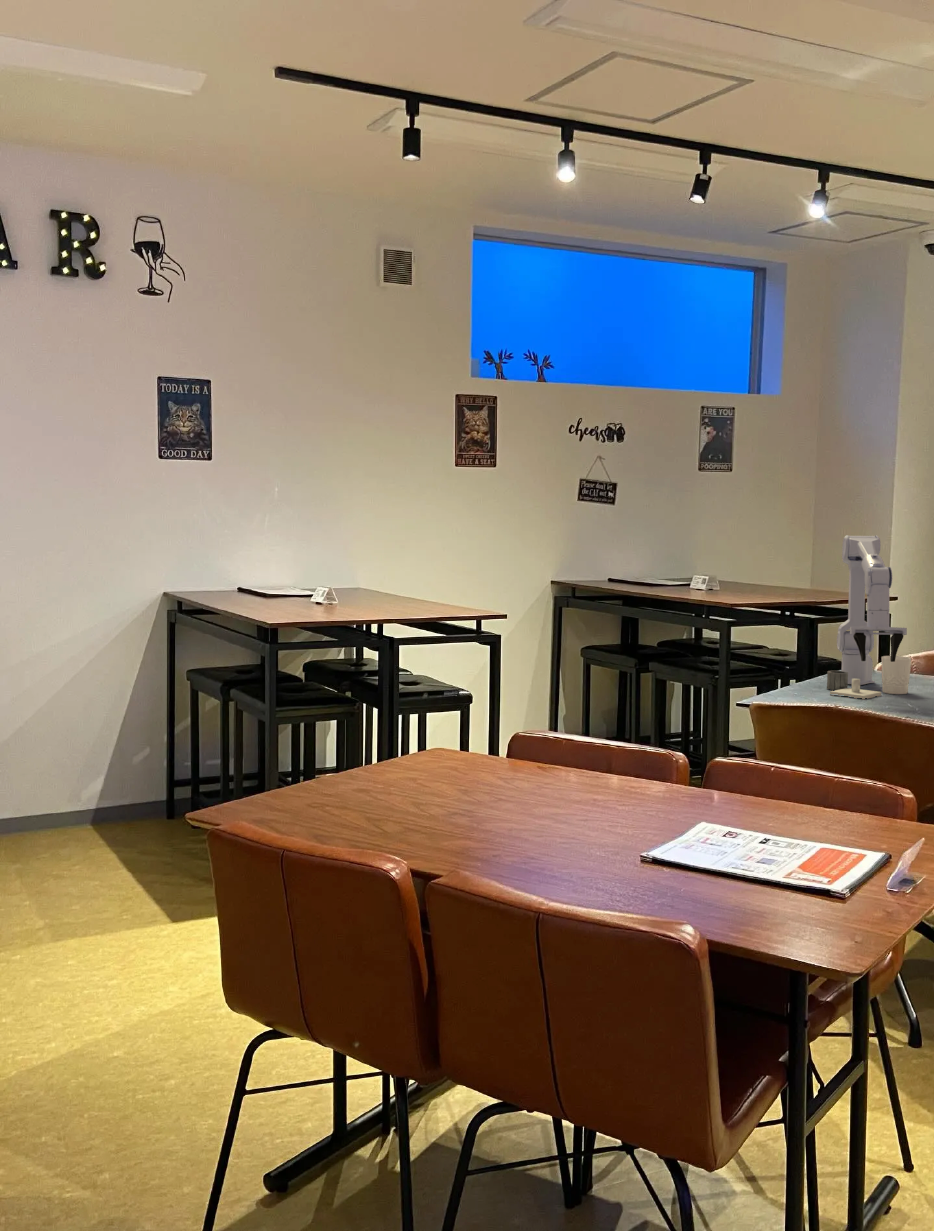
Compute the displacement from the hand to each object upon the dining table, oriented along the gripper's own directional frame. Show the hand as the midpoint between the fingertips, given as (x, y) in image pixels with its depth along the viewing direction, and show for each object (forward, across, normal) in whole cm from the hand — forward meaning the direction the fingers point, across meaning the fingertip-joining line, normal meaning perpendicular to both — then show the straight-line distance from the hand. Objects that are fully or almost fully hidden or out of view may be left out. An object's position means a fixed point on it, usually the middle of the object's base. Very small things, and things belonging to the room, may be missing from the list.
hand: (878, 661), depth 324 cm
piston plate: (+9, -4, +9) cm, 14 cm away
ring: (+8, -7, +19) cm, 22 cm away
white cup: (+8, +8, +16) cm, 20 cm away
